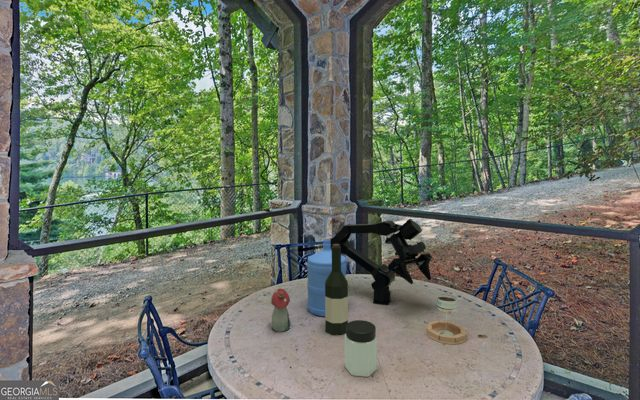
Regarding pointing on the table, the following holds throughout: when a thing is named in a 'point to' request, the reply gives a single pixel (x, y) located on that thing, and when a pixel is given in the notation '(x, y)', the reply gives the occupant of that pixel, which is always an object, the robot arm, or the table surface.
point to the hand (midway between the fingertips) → (421, 281)
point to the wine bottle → (336, 296)
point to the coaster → (446, 339)
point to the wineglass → (446, 309)
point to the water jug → (320, 277)
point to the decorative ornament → (280, 311)
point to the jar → (361, 348)
